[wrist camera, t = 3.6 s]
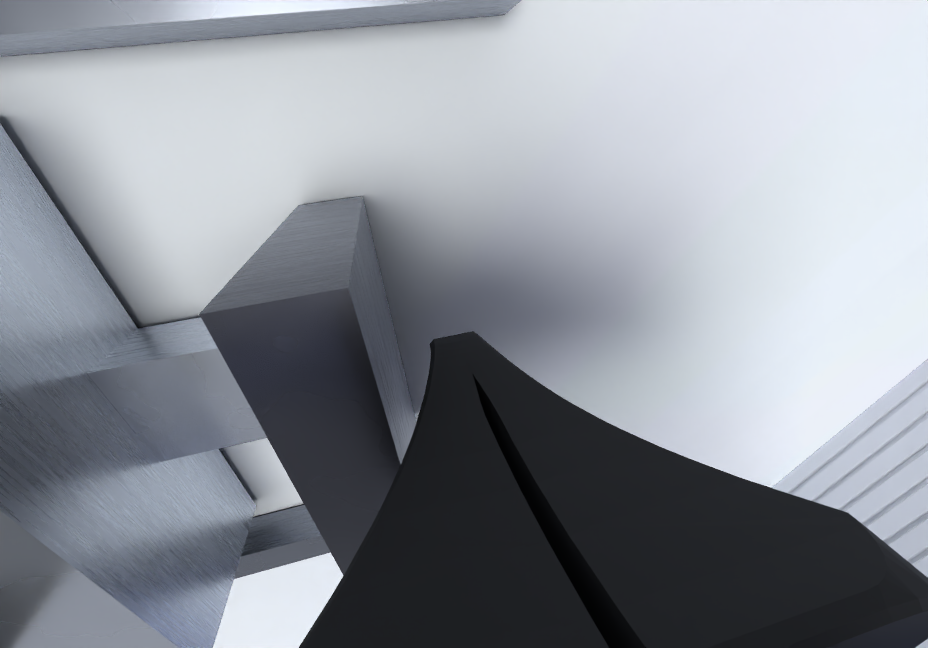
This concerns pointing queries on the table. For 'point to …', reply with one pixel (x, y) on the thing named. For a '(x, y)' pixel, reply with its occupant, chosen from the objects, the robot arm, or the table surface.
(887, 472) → the white ridged block
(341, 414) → the vise jaw
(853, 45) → the table surface
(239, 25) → the vise
